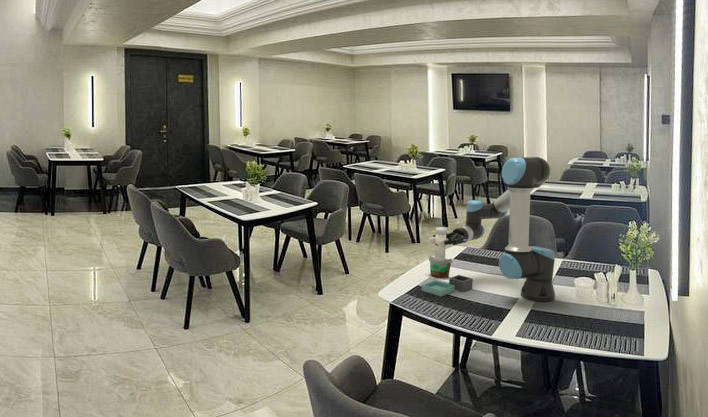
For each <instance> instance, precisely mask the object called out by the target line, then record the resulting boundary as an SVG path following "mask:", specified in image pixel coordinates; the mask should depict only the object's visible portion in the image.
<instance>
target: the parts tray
mask: <svg viewBox="0 0 708 417" xmlns="http://www.w3.org/2000/svg"><path fill="white" fill-rule="evenodd" d="M455 291H456V290H455V286H454V285H451V284H449V283H447V282H443V281H440V280H435V279H434V280H433V281H430V282H428V283H424V284H421V292H425V293H429V294H431V295H434V296H436V297H437V296H438V297H443V296H446V295H448V294H452V293H454V292H455Z"/></svg>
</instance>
